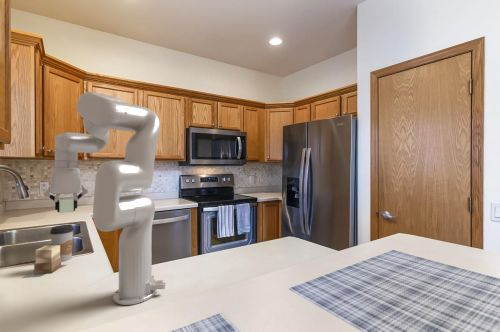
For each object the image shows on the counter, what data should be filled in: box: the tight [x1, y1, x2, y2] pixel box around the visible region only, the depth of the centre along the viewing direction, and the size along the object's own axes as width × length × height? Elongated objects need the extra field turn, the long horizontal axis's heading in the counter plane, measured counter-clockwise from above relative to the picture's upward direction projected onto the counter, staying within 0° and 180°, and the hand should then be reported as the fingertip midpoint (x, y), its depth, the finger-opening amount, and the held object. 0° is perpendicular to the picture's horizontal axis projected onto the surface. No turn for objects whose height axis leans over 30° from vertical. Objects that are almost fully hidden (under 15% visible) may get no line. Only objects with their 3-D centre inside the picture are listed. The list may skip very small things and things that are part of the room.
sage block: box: [59, 197, 75, 214], centre depth 103 cm, size 4×4×5 cm
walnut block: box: [33, 257, 62, 275], centre depth 100 cm, size 6×6×4 cm
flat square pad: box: [21, 264, 67, 279], centre depth 100 cm, size 11×11×1 cm
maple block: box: [35, 244, 60, 264], centre depth 100 cm, size 6×6×5 cm
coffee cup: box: [49, 224, 74, 263], centre depth 112 cm, size 8×8×15 cm
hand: (66, 210), depth 103 cm, fingers closed on sage block, 4 cm apart
